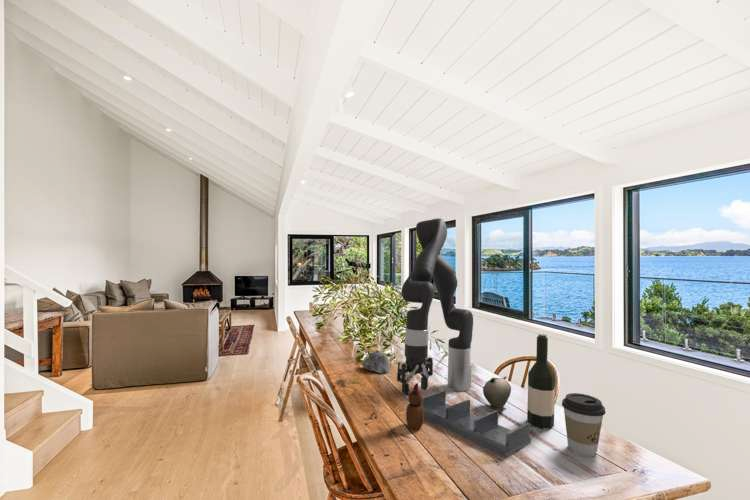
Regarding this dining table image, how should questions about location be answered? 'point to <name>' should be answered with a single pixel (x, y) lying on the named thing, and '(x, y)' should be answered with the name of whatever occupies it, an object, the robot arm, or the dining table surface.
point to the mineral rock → (377, 362)
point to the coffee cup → (583, 422)
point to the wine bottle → (541, 389)
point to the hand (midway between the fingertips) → (414, 392)
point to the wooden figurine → (415, 409)
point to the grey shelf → (475, 425)
